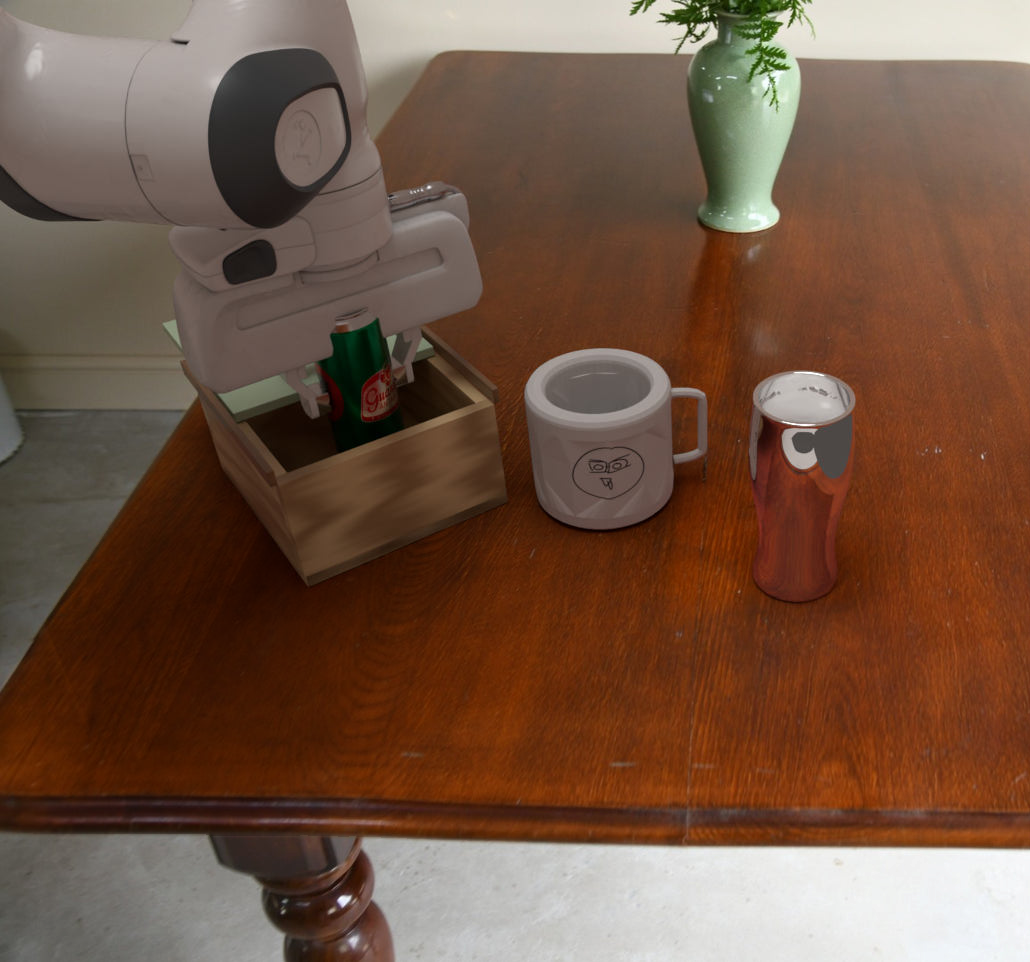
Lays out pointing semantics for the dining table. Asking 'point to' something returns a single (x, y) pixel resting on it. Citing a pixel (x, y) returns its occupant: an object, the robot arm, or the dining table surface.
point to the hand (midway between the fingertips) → (359, 397)
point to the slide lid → (274, 384)
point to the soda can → (360, 383)
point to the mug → (605, 436)
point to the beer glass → (799, 479)
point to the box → (367, 468)
